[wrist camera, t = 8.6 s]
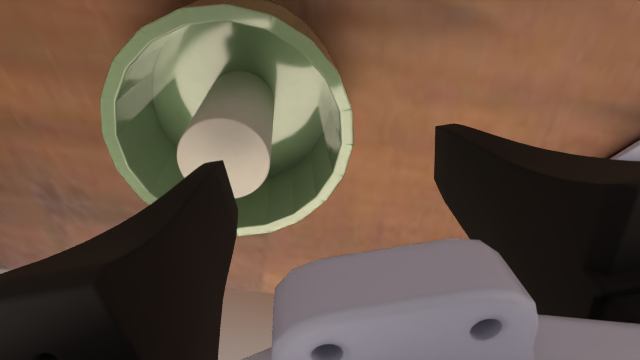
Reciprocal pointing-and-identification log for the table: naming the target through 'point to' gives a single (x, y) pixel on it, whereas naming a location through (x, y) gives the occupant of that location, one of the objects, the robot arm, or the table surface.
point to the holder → (195, 82)
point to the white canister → (232, 131)
